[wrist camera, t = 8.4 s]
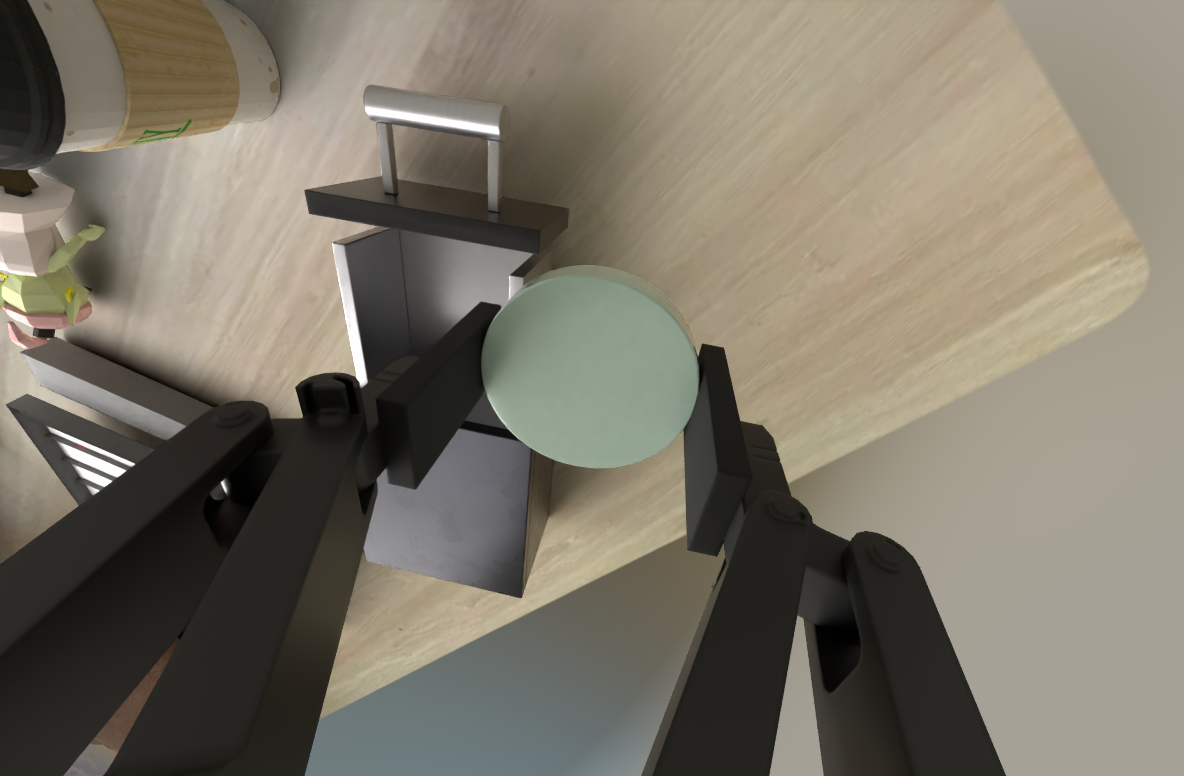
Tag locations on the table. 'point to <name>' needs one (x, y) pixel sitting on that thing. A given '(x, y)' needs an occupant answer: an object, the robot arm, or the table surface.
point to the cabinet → (467, 513)
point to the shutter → (81, 445)
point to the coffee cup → (126, 74)
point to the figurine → (39, 257)
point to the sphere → (118, 725)
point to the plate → (591, 367)
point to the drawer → (430, 238)
